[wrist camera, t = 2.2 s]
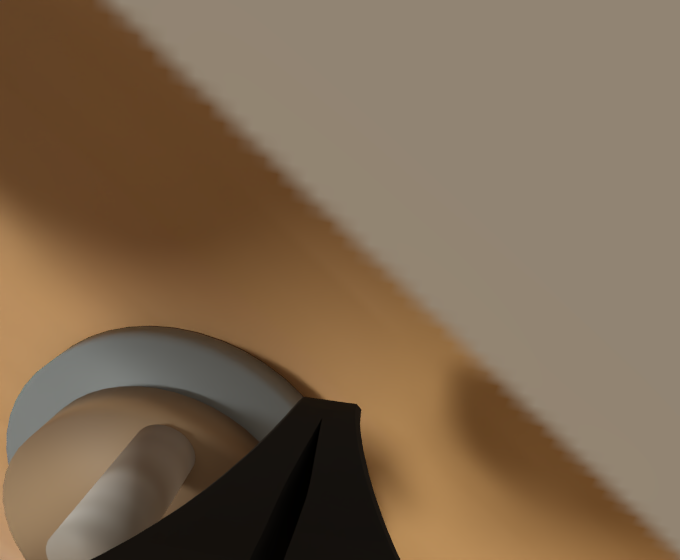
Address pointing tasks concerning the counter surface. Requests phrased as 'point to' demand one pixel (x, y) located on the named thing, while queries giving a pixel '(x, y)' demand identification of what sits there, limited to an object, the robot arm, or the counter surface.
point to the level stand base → (155, 378)
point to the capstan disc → (114, 469)
